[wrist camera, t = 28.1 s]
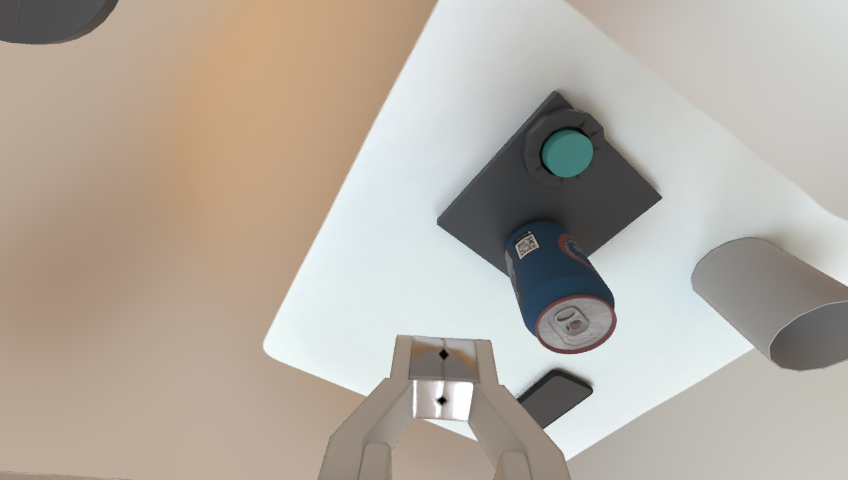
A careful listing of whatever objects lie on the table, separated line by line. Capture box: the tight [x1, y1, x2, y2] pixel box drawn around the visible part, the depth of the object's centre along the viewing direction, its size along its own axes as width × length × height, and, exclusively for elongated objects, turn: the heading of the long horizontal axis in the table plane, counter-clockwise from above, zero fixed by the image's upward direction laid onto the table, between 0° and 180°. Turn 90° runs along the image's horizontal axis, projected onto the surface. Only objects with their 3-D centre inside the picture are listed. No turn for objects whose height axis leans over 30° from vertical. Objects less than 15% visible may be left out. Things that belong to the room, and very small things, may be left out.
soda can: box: [504, 221, 617, 354], centre depth 29 cm, size 7×7×12 cm
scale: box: [437, 91, 662, 277], centre depth 32 cm, size 15×16×3 cm
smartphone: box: [517, 371, 593, 429], centre depth 49 cm, size 7×1×15 cm
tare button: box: [542, 129, 593, 177], centre depth 27 cm, size 4×4×2 cm
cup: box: [691, 238, 848, 372], centre depth 32 cm, size 8×8×10 cm
